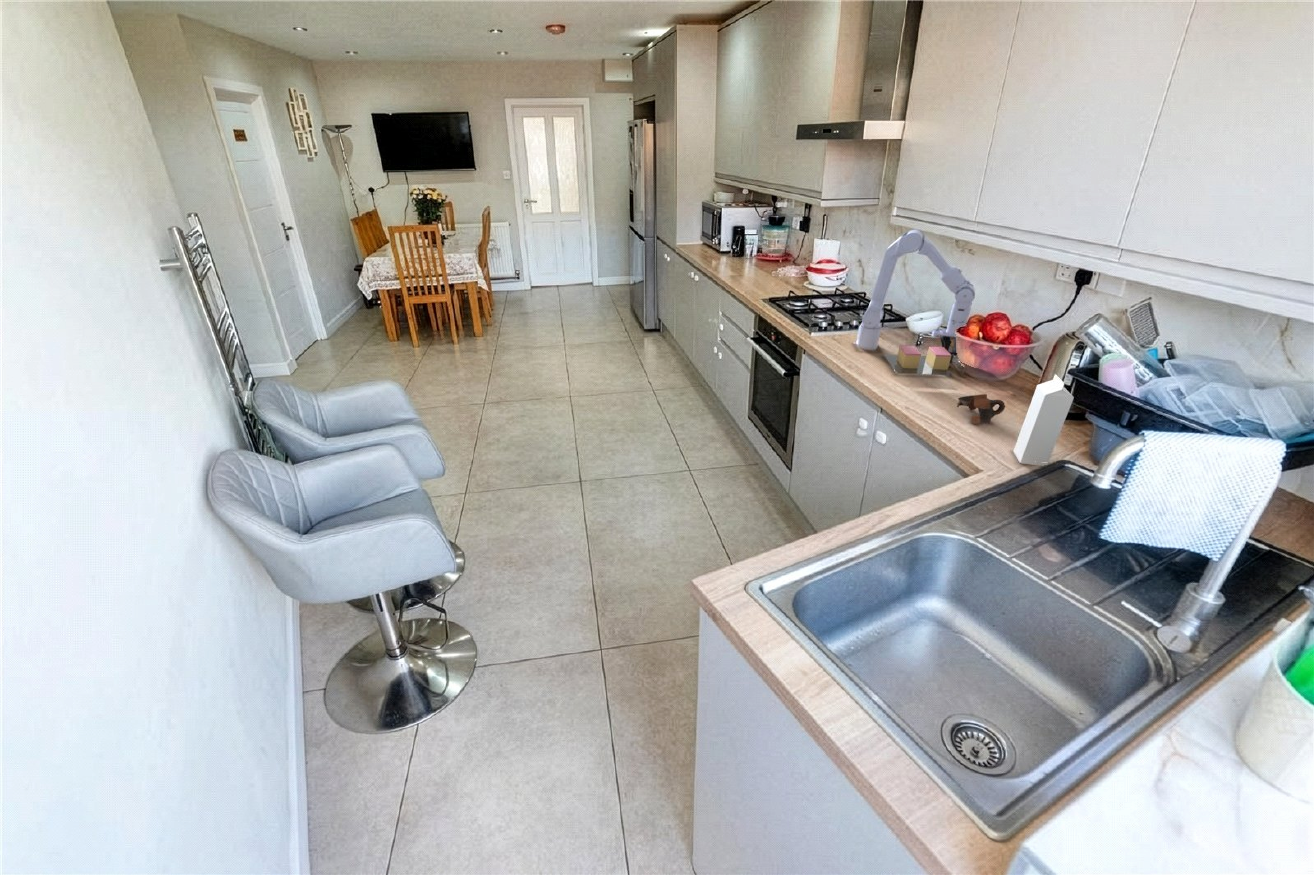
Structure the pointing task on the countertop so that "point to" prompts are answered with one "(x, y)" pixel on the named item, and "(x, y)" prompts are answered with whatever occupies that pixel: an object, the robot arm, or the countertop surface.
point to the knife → (956, 361)
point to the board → (922, 368)
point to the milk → (1043, 422)
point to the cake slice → (938, 358)
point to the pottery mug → (981, 407)
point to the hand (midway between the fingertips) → (948, 357)
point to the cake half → (908, 357)
